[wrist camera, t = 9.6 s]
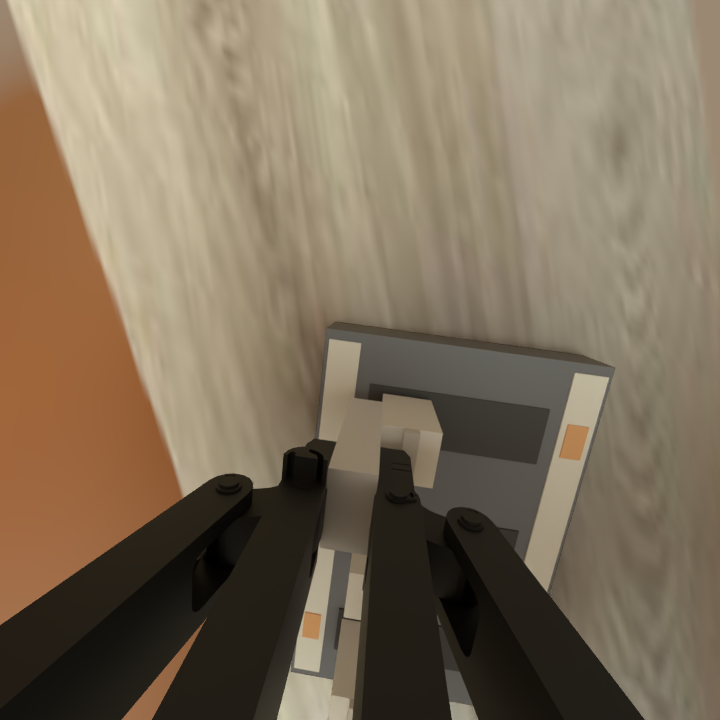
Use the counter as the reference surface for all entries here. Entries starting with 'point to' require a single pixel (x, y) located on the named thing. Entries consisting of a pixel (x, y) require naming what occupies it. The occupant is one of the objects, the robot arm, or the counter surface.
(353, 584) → the tab
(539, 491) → the switch panel
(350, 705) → the tab
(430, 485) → the tab
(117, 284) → the counter surface
